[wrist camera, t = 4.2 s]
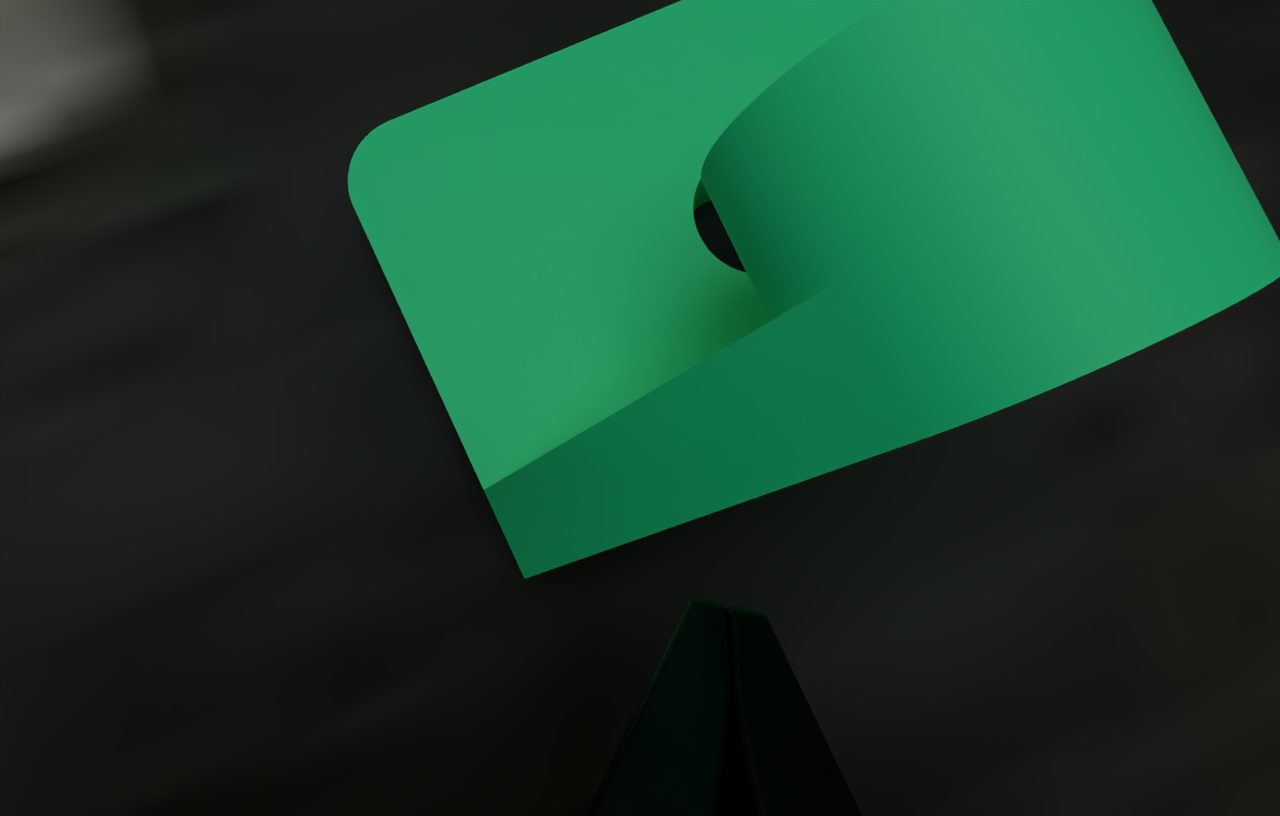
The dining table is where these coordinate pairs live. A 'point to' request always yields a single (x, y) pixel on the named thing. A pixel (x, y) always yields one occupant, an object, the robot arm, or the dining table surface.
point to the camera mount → (793, 242)
